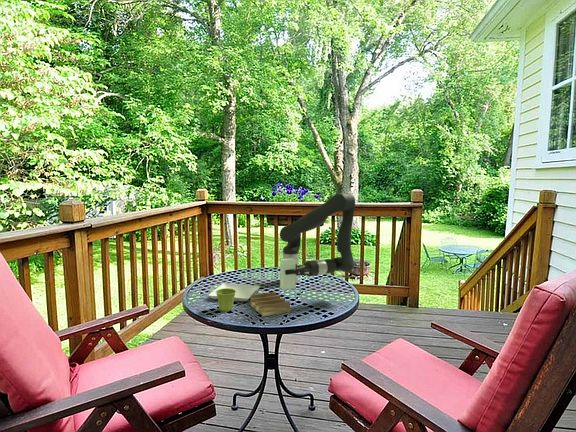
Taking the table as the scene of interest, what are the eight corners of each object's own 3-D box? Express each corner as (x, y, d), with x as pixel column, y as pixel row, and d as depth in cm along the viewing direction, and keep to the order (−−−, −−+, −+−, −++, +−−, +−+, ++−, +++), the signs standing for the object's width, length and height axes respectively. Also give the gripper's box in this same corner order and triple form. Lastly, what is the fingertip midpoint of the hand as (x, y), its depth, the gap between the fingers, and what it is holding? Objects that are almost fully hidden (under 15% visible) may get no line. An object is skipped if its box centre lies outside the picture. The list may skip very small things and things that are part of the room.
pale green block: (280, 288, 178) (280, 259, 176) (292, 286, 181) (292, 257, 179) (282, 290, 176) (283, 260, 174) (295, 288, 178) (295, 259, 177)
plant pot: (237, 305, 181) (237, 288, 180) (235, 313, 172) (235, 294, 171) (217, 305, 181) (217, 288, 180) (214, 313, 172) (214, 294, 171)
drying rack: (249, 304, 184) (249, 295, 183) (275, 300, 190) (276, 291, 189) (262, 316, 169) (262, 306, 168) (291, 311, 175) (291, 302, 174)
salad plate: (248, 304, 184) (248, 297, 184) (207, 301, 188) (207, 294, 188) (260, 291, 205) (260, 285, 204) (223, 288, 209) (223, 282, 208)
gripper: (308, 257, 190) (277, 260, 182) (323, 263, 177) (290, 267, 170) (308, 271, 191) (277, 275, 183) (323, 279, 178) (290, 283, 171)
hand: (284, 271), depth 176 cm, fingers closed on pale green block, 2 cm apart
